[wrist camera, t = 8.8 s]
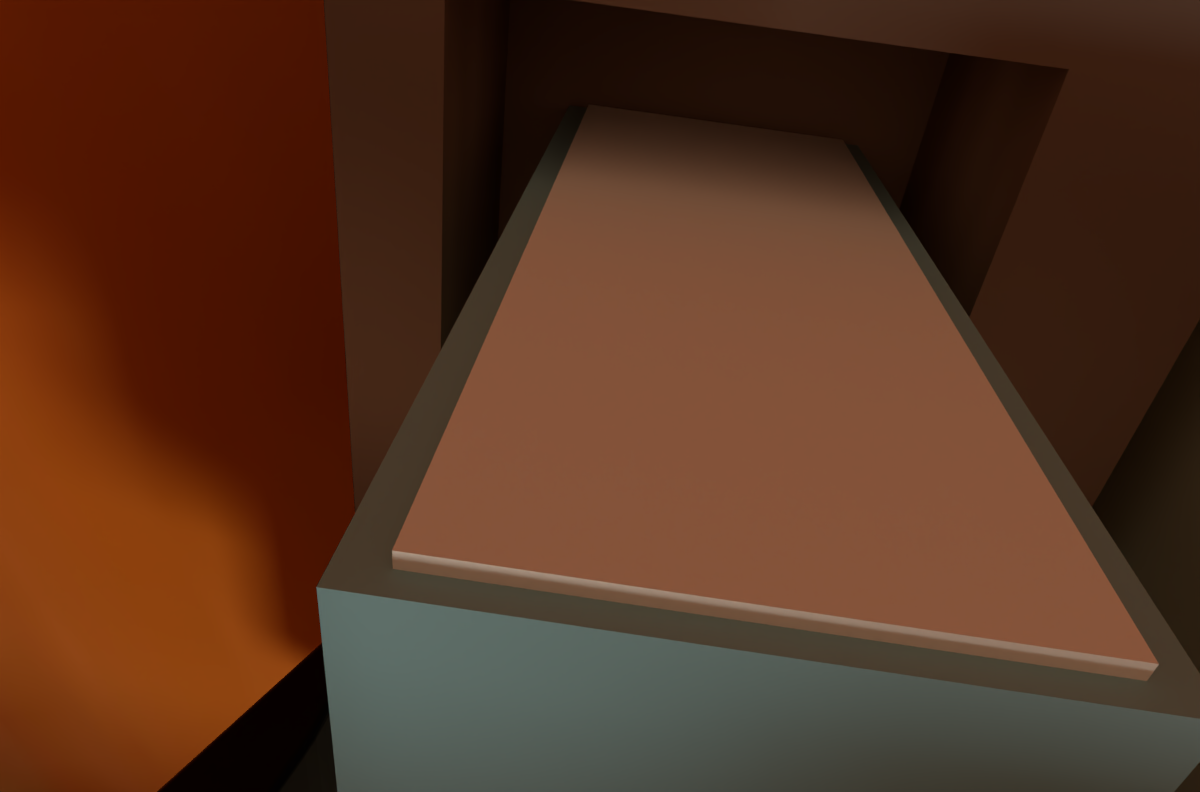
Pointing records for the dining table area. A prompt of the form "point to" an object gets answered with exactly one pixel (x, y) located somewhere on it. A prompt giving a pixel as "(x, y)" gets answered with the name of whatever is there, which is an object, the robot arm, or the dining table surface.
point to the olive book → (1164, 505)
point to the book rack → (812, 107)
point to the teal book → (733, 513)
